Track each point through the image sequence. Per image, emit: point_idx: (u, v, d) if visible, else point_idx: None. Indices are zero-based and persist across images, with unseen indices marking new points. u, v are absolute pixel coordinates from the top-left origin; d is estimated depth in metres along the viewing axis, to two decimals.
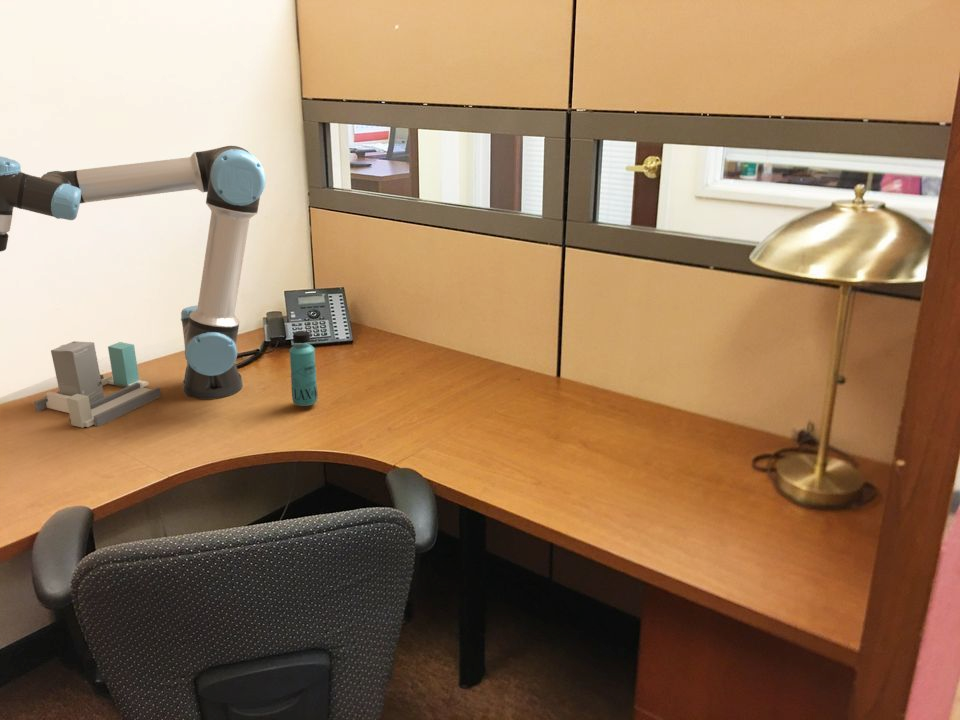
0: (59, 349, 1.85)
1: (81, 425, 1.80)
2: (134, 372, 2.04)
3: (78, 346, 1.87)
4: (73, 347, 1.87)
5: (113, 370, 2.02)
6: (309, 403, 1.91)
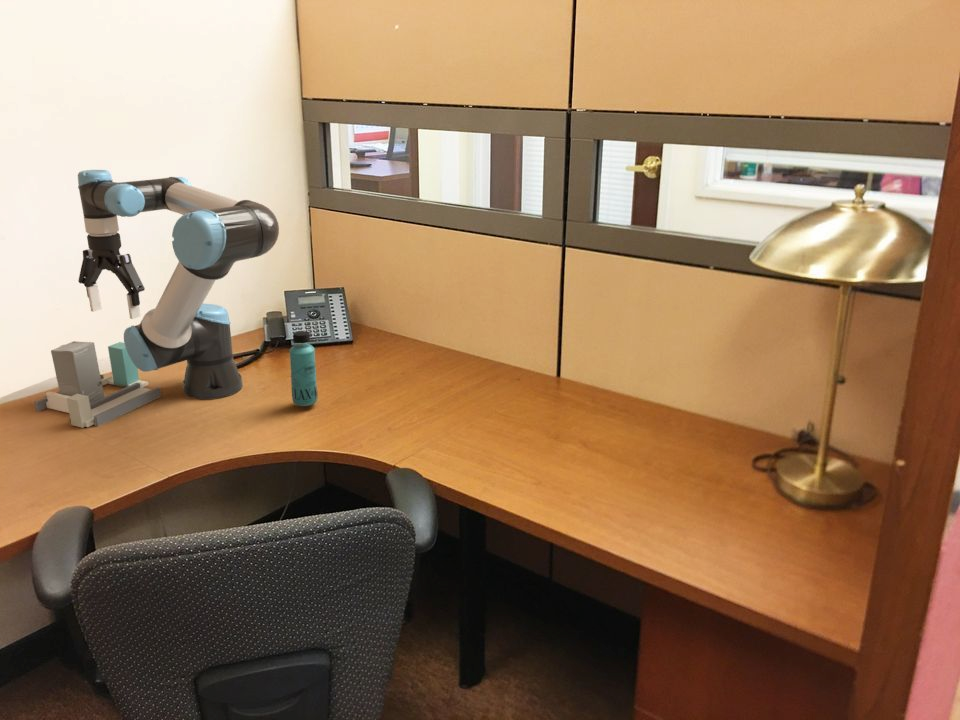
0: (59, 349, 1.85)
1: (81, 425, 1.80)
2: (134, 372, 2.04)
3: (78, 346, 1.87)
4: (73, 347, 1.87)
5: (113, 370, 2.02)
6: (309, 403, 1.91)
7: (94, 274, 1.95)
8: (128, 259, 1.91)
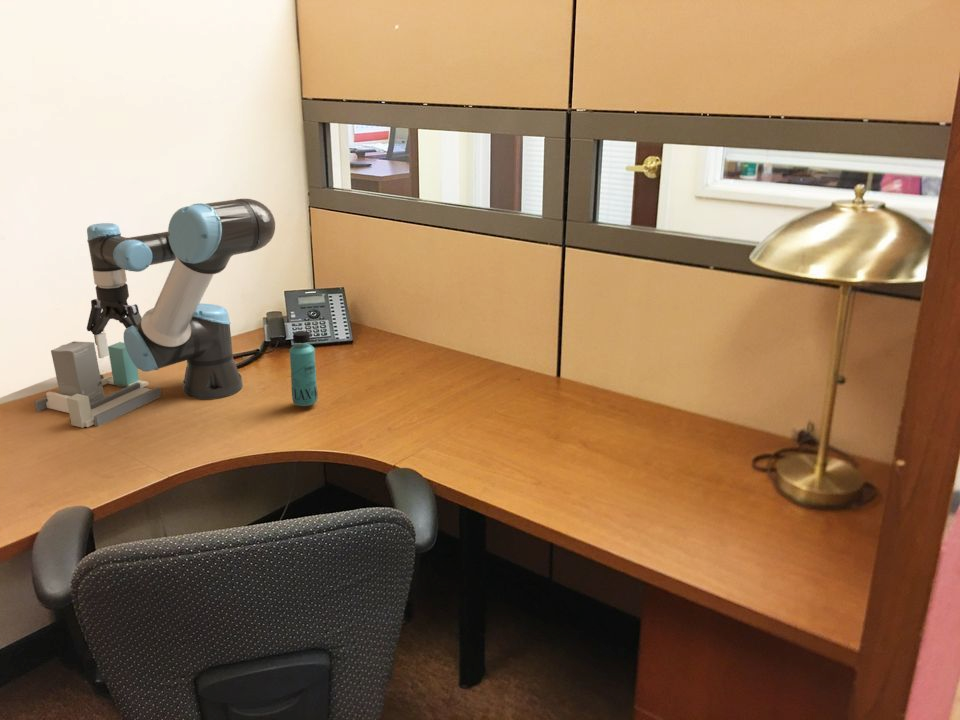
0: (59, 349, 1.85)
1: (81, 425, 1.80)
2: (134, 372, 2.04)
3: (78, 346, 1.87)
4: (73, 347, 1.87)
5: (113, 370, 2.02)
6: (309, 403, 1.91)
7: (102, 323, 2.00)
8: (136, 309, 1.95)
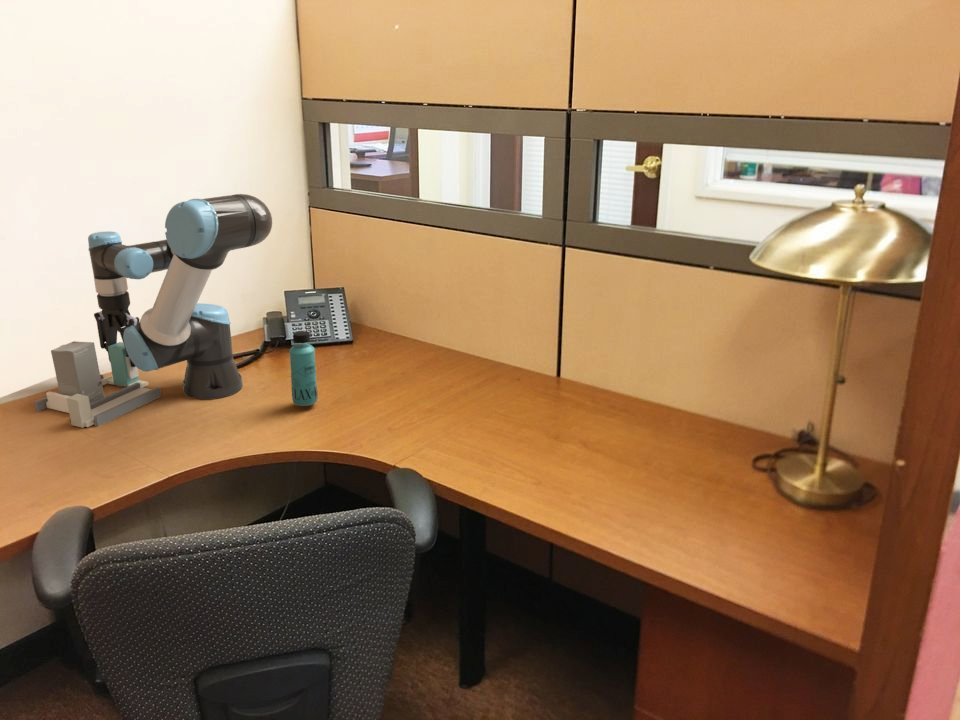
0: (59, 349, 1.85)
1: (81, 425, 1.80)
2: None
3: (78, 346, 1.87)
4: (73, 347, 1.87)
5: (113, 370, 2.02)
6: (309, 403, 1.91)
7: (111, 335, 2.00)
8: (137, 322, 1.97)
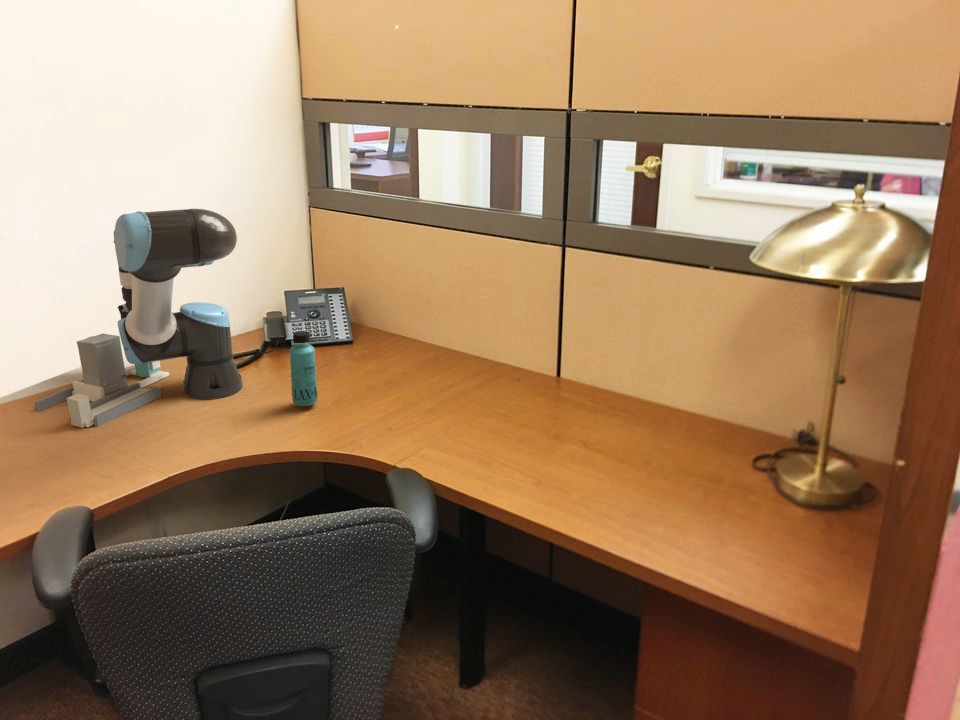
0: (84, 340, 1.91)
1: (81, 425, 1.80)
2: None
3: (102, 339, 1.93)
4: (97, 339, 1.92)
5: None
6: (309, 403, 1.91)
7: None
8: None
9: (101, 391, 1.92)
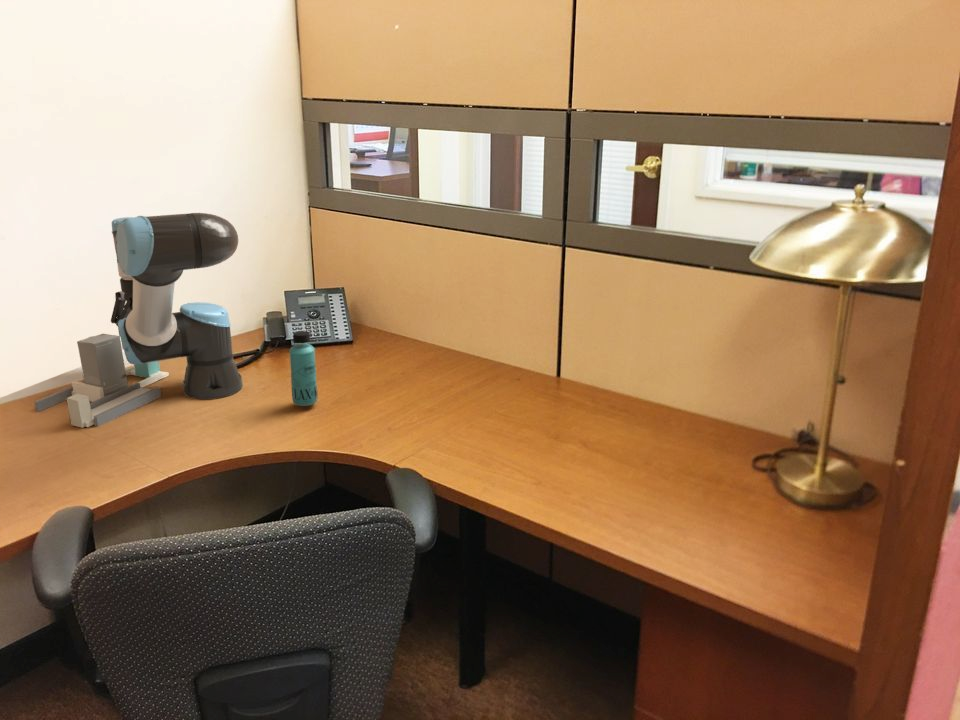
0: (84, 340, 1.91)
1: (81, 425, 1.80)
2: (155, 364, 2.10)
3: (103, 339, 1.93)
4: (98, 339, 1.92)
5: None
6: (309, 403, 1.91)
7: (126, 314, 2.06)
8: None
9: (100, 391, 1.92)
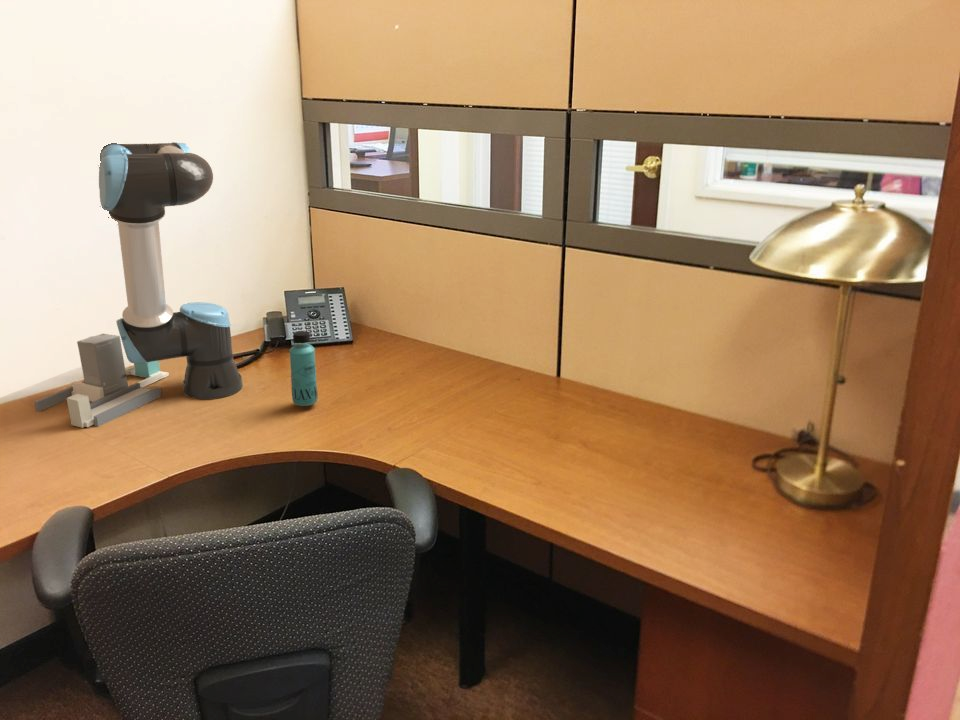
0: (84, 340, 1.91)
1: (81, 425, 1.80)
2: (155, 364, 2.10)
3: (103, 339, 1.93)
4: (98, 339, 1.92)
5: None
6: (309, 403, 1.91)
7: None
8: None
9: (100, 391, 1.92)
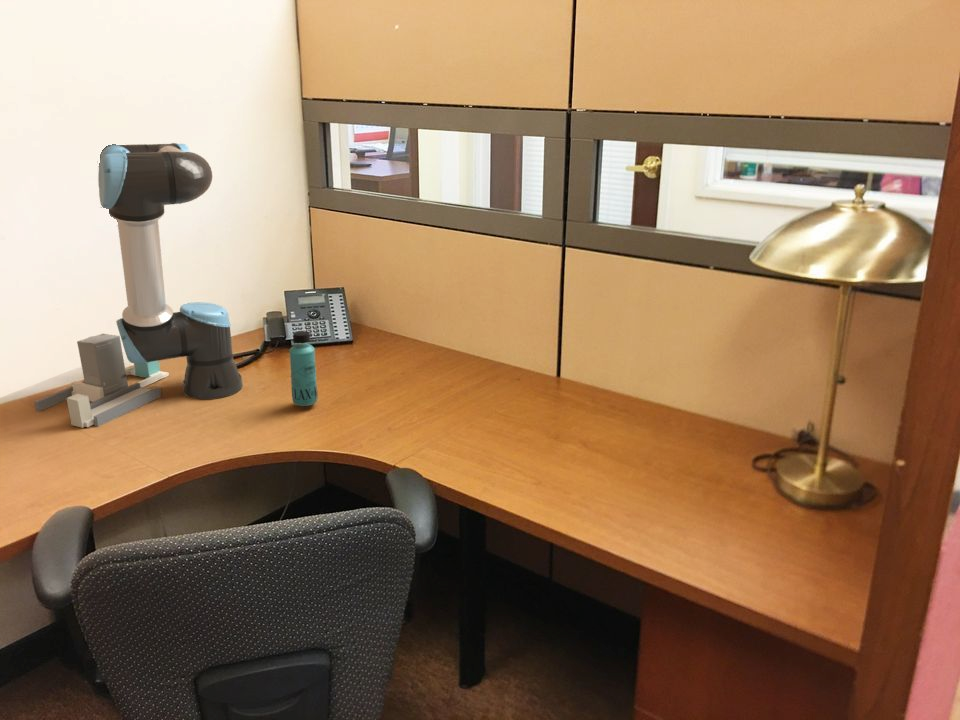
0: (84, 340, 1.91)
1: (81, 425, 1.80)
2: (155, 364, 2.10)
3: (103, 339, 1.93)
4: (98, 339, 1.92)
5: None
6: (309, 403, 1.91)
7: None
8: None
9: (100, 391, 1.92)
